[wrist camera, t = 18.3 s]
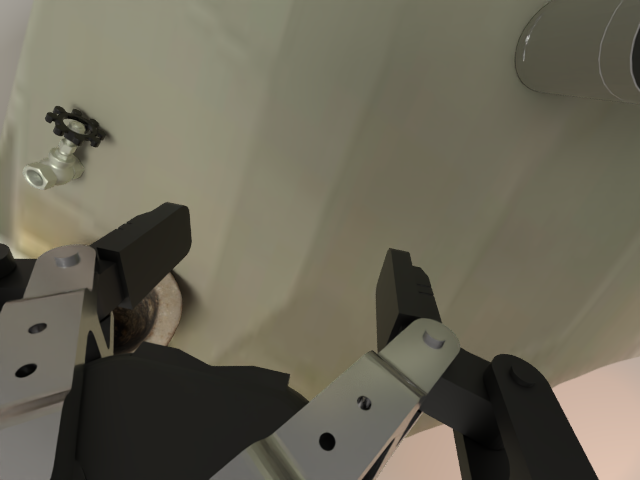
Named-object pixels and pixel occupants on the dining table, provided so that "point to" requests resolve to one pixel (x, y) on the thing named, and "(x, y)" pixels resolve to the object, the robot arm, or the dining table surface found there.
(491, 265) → the dining table surface
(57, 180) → the valve
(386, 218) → the dining table surface
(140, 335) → the pipe
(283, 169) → the dining table surface
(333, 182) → the dining table surface
